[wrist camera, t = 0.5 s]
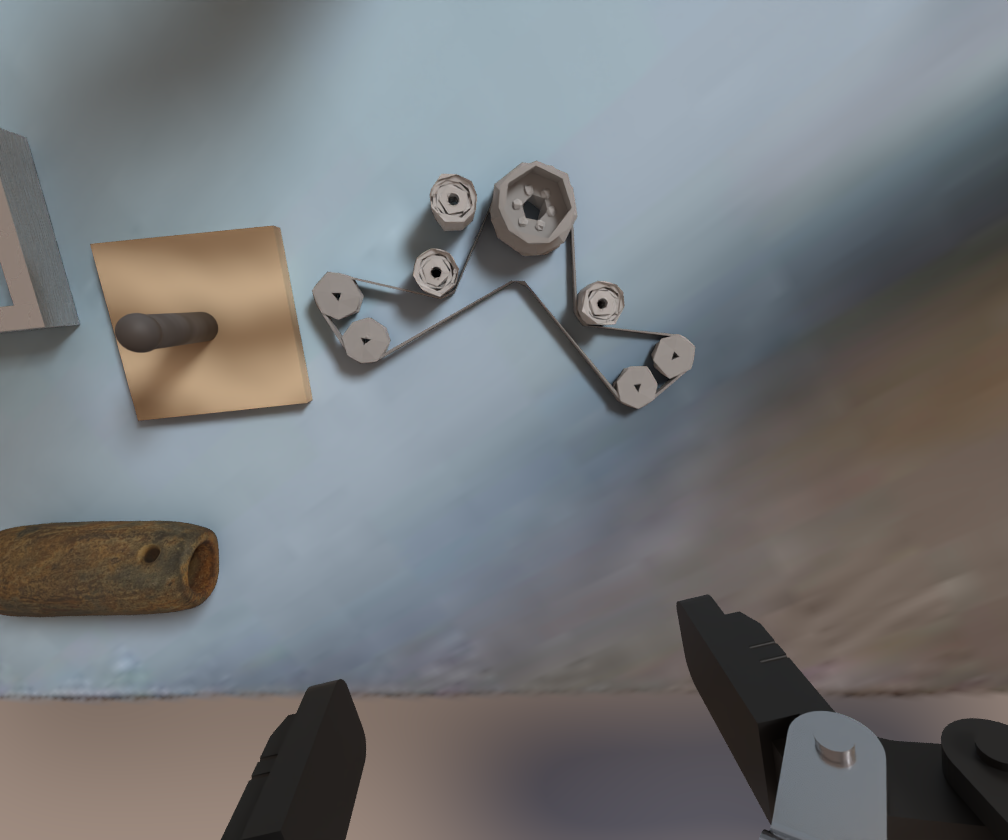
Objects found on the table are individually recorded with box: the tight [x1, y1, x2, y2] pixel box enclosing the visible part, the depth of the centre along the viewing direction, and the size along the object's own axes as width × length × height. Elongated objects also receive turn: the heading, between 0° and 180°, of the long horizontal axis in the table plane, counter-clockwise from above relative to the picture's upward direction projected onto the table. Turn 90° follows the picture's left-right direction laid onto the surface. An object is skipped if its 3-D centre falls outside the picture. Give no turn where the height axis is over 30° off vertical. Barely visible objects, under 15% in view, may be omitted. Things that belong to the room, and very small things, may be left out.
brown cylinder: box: [0, 521, 219, 617], centre depth 37 cm, size 15×7×7 cm, turn 95°
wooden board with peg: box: [90, 226, 313, 421], centre depth 32 cm, size 12×12×9 cm
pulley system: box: [312, 161, 695, 409], centre depth 36 cm, size 27×5×15 cm
